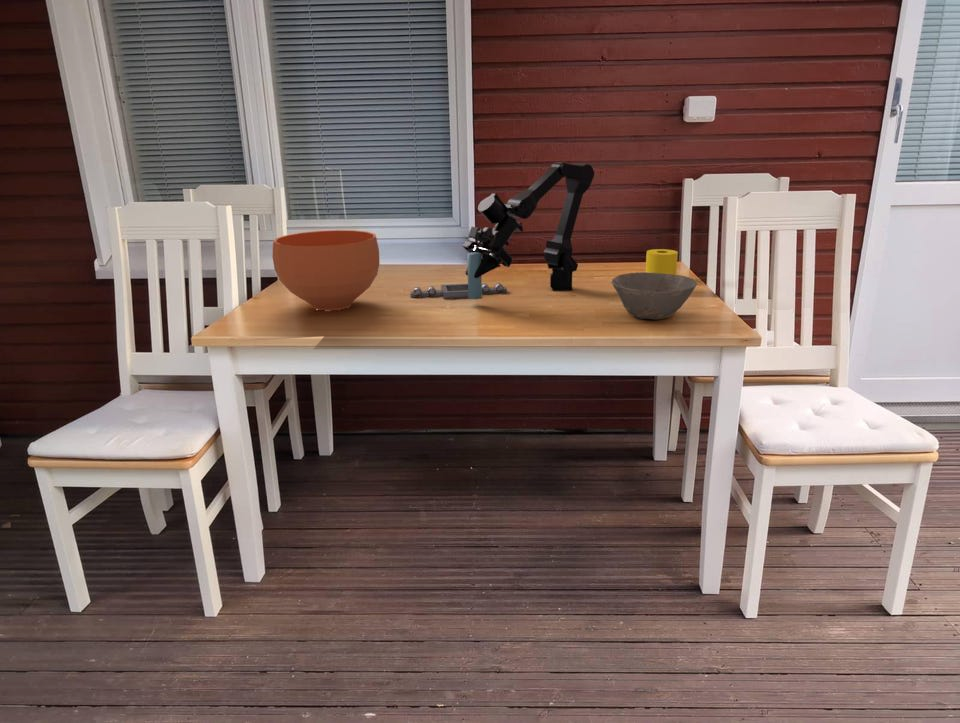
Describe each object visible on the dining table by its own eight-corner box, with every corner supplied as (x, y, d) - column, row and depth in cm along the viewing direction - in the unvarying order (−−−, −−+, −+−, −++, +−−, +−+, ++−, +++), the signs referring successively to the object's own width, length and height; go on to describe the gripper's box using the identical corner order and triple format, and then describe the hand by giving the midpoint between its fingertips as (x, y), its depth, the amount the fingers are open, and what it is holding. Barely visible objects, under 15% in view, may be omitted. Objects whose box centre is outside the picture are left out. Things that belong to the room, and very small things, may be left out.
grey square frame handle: (503, 287, 214) (503, 280, 213) (509, 295, 204) (508, 287, 203) (410, 292, 210) (409, 284, 209) (411, 300, 201) (410, 292, 200)
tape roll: (668, 284, 214) (670, 255, 211) (640, 280, 220) (641, 252, 217) (680, 278, 222) (682, 250, 219) (652, 275, 228) (654, 248, 224)
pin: (482, 295, 195) (481, 252, 190) (481, 299, 191) (480, 254, 187) (468, 295, 195) (467, 252, 191) (468, 299, 191) (466, 255, 187)
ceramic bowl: (690, 307, 187) (693, 272, 184) (696, 330, 166) (700, 292, 163) (611, 304, 192) (613, 270, 189) (608, 326, 171) (610, 289, 168)
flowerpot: (384, 316, 184) (378, 243, 177) (274, 323, 180) (264, 248, 173) (381, 291, 212) (376, 227, 205) (286, 297, 208) (278, 232, 201)
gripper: (466, 212, 194) (436, 254, 192) (503, 219, 180) (471, 264, 178) (489, 236, 201) (460, 276, 199) (526, 244, 187) (495, 288, 185)
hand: (470, 276), depth 190 cm, fingers closed on pin, 4 cm apart
